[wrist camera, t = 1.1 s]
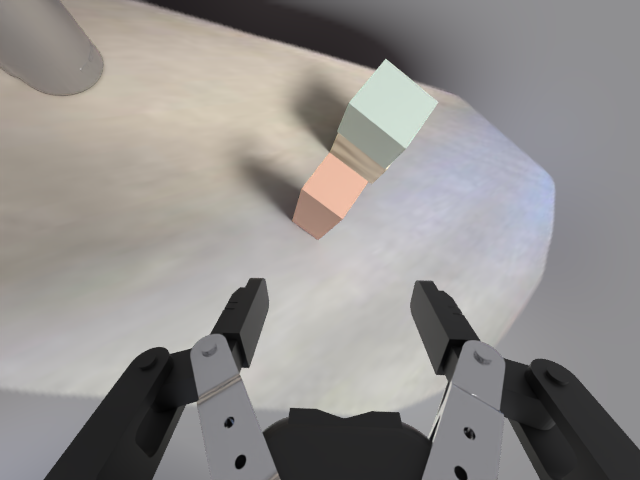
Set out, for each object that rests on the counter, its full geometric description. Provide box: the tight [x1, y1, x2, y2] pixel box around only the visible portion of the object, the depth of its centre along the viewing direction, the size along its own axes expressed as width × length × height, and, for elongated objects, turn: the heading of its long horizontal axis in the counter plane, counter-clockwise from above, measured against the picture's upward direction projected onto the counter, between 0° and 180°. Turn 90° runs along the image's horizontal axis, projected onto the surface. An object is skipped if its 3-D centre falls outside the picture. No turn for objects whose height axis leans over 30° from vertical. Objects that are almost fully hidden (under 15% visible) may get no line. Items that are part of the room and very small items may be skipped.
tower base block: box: [330, 133, 390, 184], centre depth 33 cm, size 8×8×5 cm
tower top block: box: [337, 59, 438, 169], centre depth 28 cm, size 8×8×5 cm
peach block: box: [292, 152, 368, 240], centre depth 26 cm, size 4×4×12 cm
